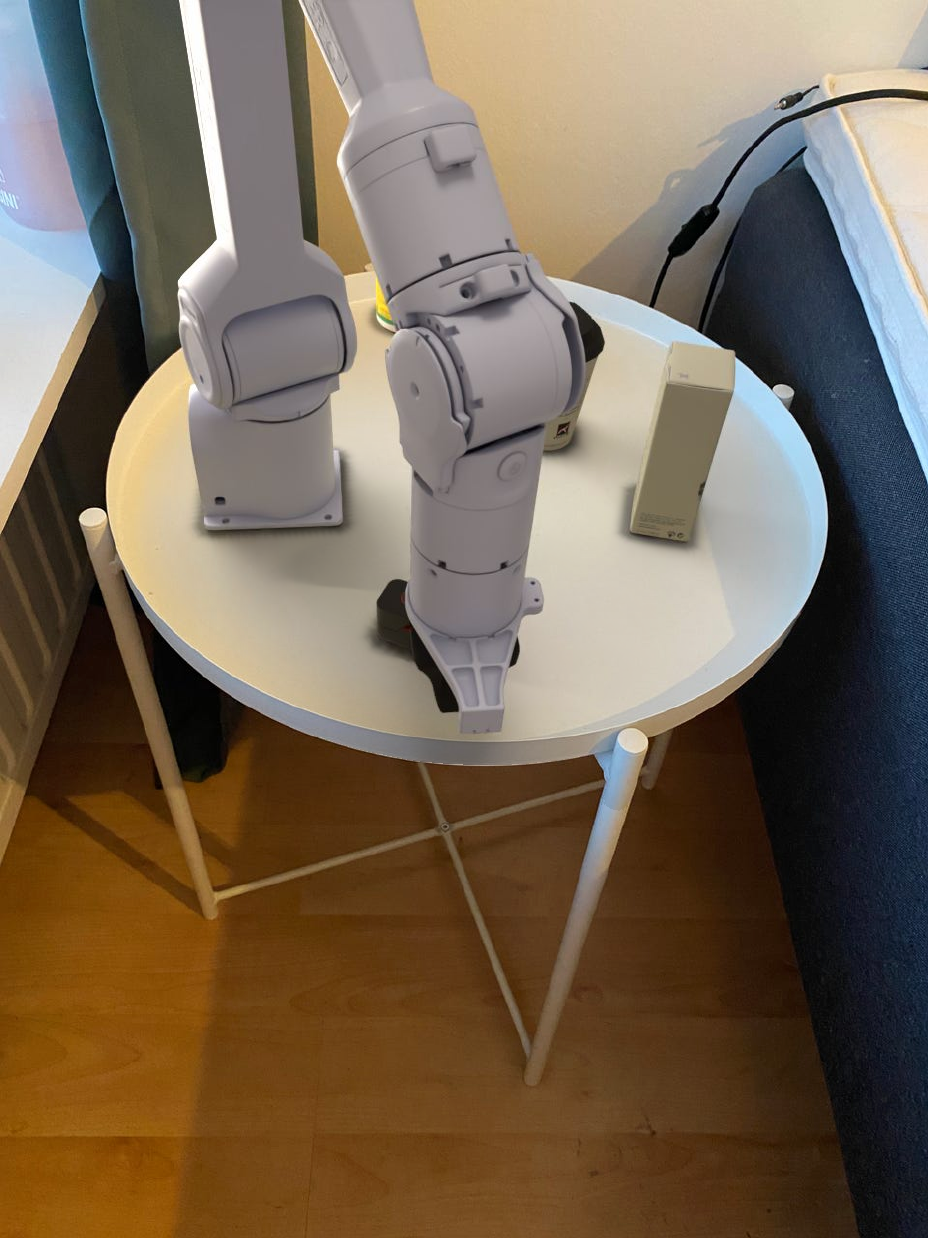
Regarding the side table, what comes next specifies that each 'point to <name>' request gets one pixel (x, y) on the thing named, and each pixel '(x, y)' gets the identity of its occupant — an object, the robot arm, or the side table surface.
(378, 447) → the side table surface
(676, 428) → the box
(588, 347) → the coffee cup
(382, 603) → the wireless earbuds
